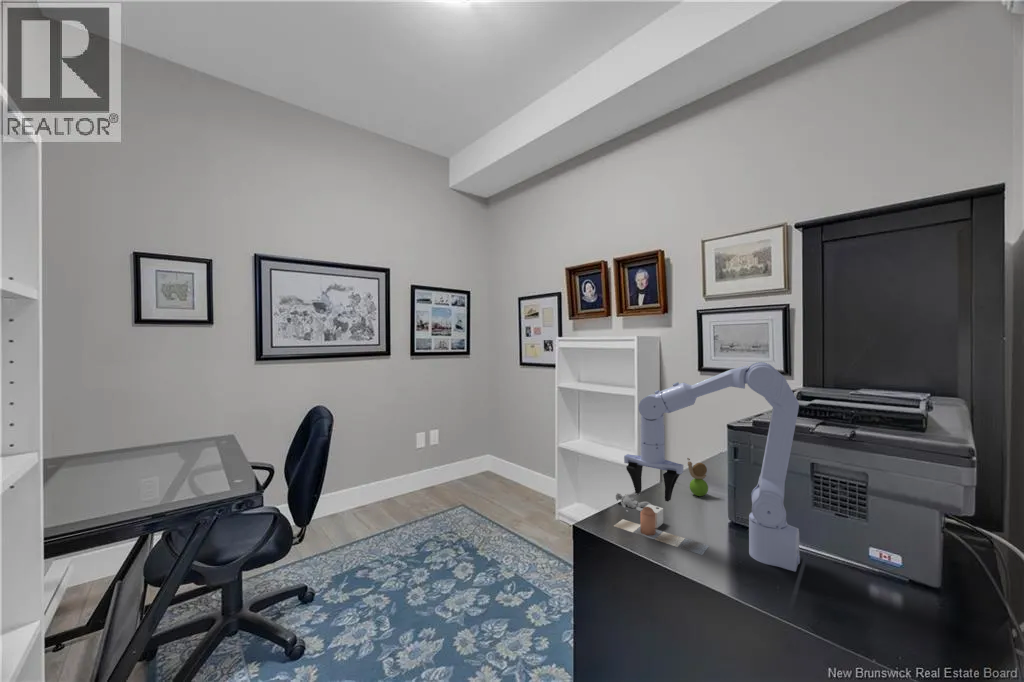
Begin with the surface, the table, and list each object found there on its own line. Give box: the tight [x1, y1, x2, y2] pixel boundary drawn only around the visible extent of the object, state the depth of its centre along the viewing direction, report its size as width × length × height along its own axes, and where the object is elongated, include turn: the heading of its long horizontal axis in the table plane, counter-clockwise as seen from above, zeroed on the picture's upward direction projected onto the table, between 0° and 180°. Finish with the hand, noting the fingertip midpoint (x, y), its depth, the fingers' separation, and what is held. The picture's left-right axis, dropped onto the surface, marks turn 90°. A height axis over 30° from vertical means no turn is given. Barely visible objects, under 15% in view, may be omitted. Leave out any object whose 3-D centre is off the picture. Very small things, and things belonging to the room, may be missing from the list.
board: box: [613, 518, 710, 556], centre depth 104 cm, size 22×12×1 cm, turn 49°
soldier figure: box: [615, 491, 659, 513], centre depth 119 cm, size 8×5×12 cm
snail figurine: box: [687, 457, 709, 497], centre depth 130 cm, size 5×6×12 cm
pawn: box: [639, 507, 657, 535], centre depth 103 cm, size 4×4×6 cm
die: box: [646, 504, 664, 529], centre depth 108 cm, size 4×4×4 cm
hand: (652, 496), depth 104 cm, fingers open, 7 cm apart
